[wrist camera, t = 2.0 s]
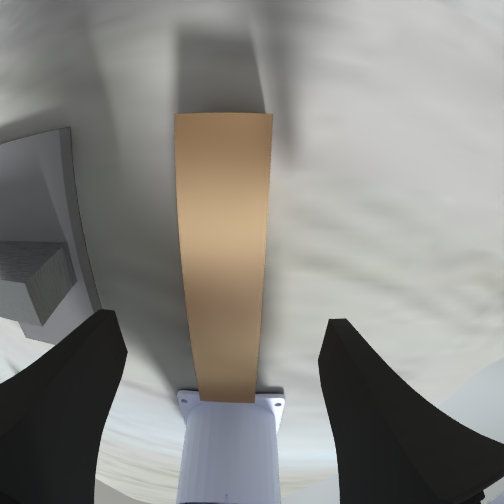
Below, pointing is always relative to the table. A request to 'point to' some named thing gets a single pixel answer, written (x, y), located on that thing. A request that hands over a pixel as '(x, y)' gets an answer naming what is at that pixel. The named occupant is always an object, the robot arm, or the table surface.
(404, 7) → the table surface
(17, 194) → the stand
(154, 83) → the table surface
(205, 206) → the bar
